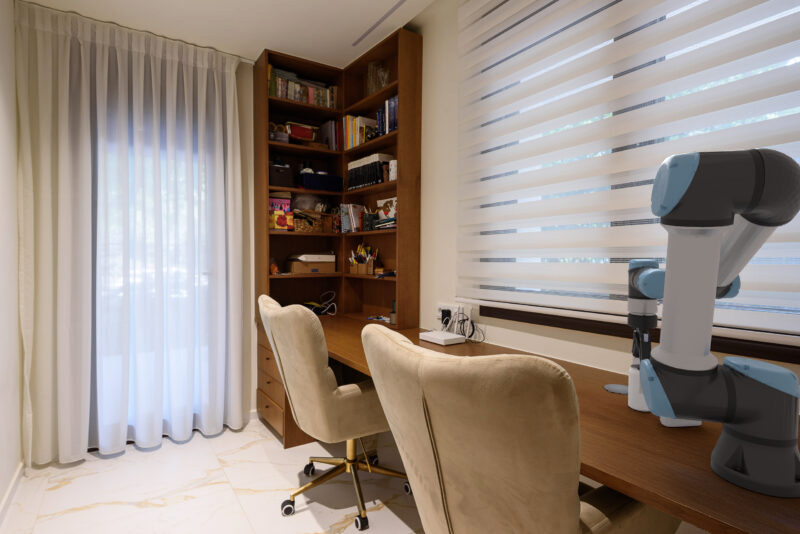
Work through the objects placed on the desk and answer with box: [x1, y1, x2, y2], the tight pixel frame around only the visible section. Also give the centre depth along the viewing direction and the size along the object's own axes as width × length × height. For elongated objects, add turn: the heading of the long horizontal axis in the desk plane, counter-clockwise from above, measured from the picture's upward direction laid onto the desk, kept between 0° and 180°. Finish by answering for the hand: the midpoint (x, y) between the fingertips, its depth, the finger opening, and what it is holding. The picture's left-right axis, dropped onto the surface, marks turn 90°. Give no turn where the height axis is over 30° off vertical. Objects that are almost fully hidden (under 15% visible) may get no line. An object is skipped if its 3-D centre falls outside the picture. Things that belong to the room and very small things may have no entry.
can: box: [627, 363, 651, 413], centre depth 123 cm, size 6×6×12 cm
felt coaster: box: [603, 383, 629, 395], centre depth 140 cm, size 9×9×1 cm
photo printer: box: [659, 416, 703, 428], centre depth 112 cm, size 10×4×12 cm, turn 98°
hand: (640, 386), depth 124 cm, fingers open, 13 cm apart
